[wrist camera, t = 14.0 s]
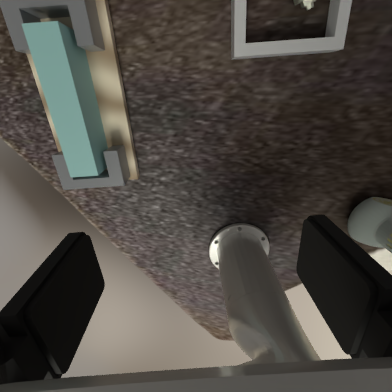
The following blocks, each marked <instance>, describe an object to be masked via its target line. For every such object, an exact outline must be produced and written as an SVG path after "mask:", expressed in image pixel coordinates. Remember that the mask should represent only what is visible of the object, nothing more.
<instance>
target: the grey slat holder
mask: <svg viewBox="0 0 392 392" xmlns="http://www.w3.org/2000/svg"><path fill="white" fill-rule="evenodd" d="M0 7H1V10H2V12H3V15H4V18H5V21H6V24H7V27H8V30H9V33H10V36H11V39H12V42H13V44H14V47H15V50H16V51H19V52H23V53H27V54H31V52H30V49H29V46H28V43H27V40H26V37H25V34H24V30H23V27H22V24H23V23H37V22H41V20H40V19H46V18H60V17H71V21H72V25H73V29H74V33H75V38H76V42H77V46H78V47H81V48H83V49H85V50H88V51H90V52H94V51H105V47H104V42H103V37H102V32H101V27H100V22H99V17H98V12H97V7H96V2H95V0H0ZM103 153H104V157H105V161H106V165H107V169H108V170H104V171H103V172H102V173H101V174H100V175H98V176H85V177H70V174H69V171H68V167H67V164H66V161H65V158H64V155H63V152H62V151H60V152H58V153H56V154H53V155H52V158H53V161H54V164H55V167H56V170H57V173H58V175H59V178H60V181H61V184H62V187H63V190H67V189H81V188H95V187H109V186H123V185H125V184H126V182H127V181H128V180H129V178H130V172H129V167H128V162H127V157H126V152H125V147H124V145H116V146H111V147H109V148H108V149H106V150H105V151H103Z"/></svg>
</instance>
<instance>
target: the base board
mask: <svg viewBox="0 0 392 392" xmlns="http://www.w3.org/2000/svg"><path fill="white" fill-rule="evenodd" d="M95 2H96V7H97V12H98V17H99V22H100V27H101V32H102V37H103V42H104V47H105V51H94V52H90V51H88V50H85V51H86V55H87V60H88V64H89V68H90V73H91V77H92V81H93V85H94V90H95V94H96V98H97V103H98V107H99V111H100V116H101V120H102V124H103V128H104V133H105V137H106V141H107V146H108V148H109V147H111V146H116V145H124V147H125V152H126V157H127V162H128V167H129V172H130V178H129V180H131V179H138V178H139V176H140V175H139V169H138V164H137V158H136V153H135V148H134V142H133V137H132V131H131V126H130V120H129V115H128V109H127V104H126V98H125V93H124V87H123V82H122V76H121V71H120V65H119V60H118V54H117V49H116V43H115V38H114V32H113V27H112V21H111V16H110V10H109V5H108V0H95ZM40 20H41V22H50V21H59V22H60V23H62V24H64V25H66V26H68V27H69V28H71V29H73V25H72V21H71V17H60V18H46V19H40ZM73 30H74V29H73ZM27 56H28V59H29V62H30V65H31V68H32V72H33V75H34V78H35V81H36V84H37V87H38V90H39V93H40V96H41V99H42V102H43V105H44V108H45V111H46V114H47V117H48V120H49V123H50V127H51V130H52V133H53V136H54V139H55V142H56V145H57V148H58V151H59V152H60V151H62V149H61V146H60V143H59V139H58V136H57V133H56V130H55V127H54V124H53V121H52V118H51V115H50V111H49V108H48V105H47V102H46V99H45V96H44V93H43V90H42V86H41V83H40V80H39V77H38V74H37V71H36V68H35V65H34V62H33V58H32V55H31V54H27ZM105 170H108V169H107V168H106V169H105Z"/></svg>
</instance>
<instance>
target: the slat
mask: <svg viewBox="0 0 392 392" xmlns="http://www.w3.org/2000/svg"><path fill="white" fill-rule="evenodd" d="M22 27H23V30H24V34H25V37H26V40H27V43H28V46H29V49H30V52H31V55H32V58H33V62H34V65H35V68H36V71H37V74H38V77H39V80H40V83H41V86H42V90H43V93H44V96H45V99H46V102H47V105H48V108H49V111H50V115H51V118H52V121H53V124H54V127H55V130H56V133H57V136H58V139H59V143H60V146H61V149H62V152H63V155H64V158H65V161H66V164H67V167H68V171H69V174H70V177H85V176H98V175H100V174H101V173H102V172H103V171H104V170H105V169H106V168H107V165H106V161H105V157H104V153H103V151H105V150H106V149H108V146H107V141H106V137H105V133H104V128H103V124H102V120H101V116H100V111H99V107H98V103H97V98H96V94H95V90H94V85H93V81H92V77H91V73H90V68H89V64H88V60H87V55H86V51H85V49H83V48H81V47H78V46H77V42H76V38H75V33H74V30H73V29H71V28H69V27H68V26H66V25H64V24H62V23H60V22H59V21H50V22H37V23H23V24H22Z"/></svg>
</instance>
